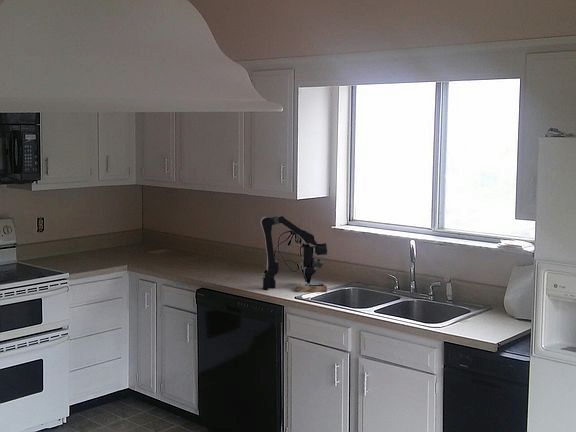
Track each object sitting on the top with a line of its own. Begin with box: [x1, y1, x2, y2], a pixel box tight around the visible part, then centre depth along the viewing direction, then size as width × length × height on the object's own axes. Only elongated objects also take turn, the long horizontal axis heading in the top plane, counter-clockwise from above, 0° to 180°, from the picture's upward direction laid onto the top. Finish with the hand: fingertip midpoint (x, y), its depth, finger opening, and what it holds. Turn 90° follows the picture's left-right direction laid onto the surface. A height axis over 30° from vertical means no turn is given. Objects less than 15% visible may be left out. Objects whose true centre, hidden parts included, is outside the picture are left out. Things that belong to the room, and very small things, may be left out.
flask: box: [304, 282, 324, 286], centre depth 410 cm, size 9×3×11 cm
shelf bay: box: [294, 282, 328, 293], centre depth 406 cm, size 16×12×3 cm
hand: (307, 283), depth 418 cm, fingers open, 7 cm apart
